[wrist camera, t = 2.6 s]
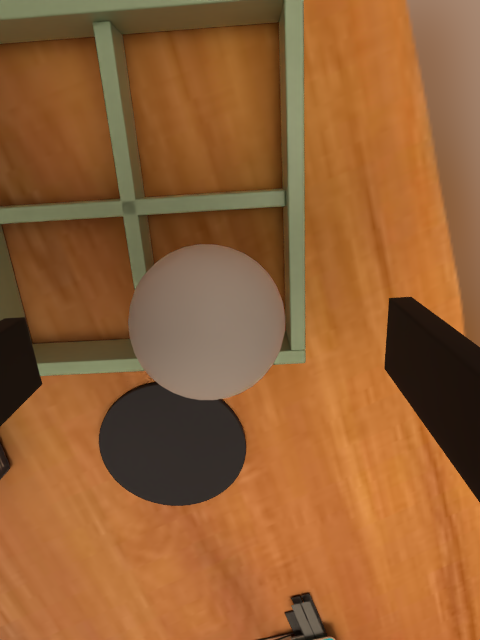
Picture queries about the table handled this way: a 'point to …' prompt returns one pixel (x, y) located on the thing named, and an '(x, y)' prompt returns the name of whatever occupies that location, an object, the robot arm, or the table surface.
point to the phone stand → (304, 621)
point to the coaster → (171, 446)
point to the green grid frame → (107, 27)
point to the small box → (3, 463)
